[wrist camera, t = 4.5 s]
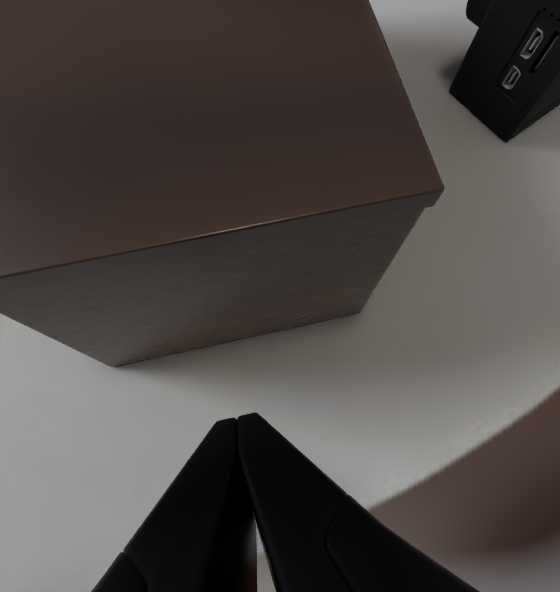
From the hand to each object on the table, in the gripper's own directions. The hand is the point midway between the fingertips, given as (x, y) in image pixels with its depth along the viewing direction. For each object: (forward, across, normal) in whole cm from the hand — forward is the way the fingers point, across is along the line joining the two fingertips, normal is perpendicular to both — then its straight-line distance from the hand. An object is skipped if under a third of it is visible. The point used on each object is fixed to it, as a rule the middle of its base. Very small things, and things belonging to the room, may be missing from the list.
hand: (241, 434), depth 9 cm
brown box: (+16, 0, +3) cm, 16 cm away
